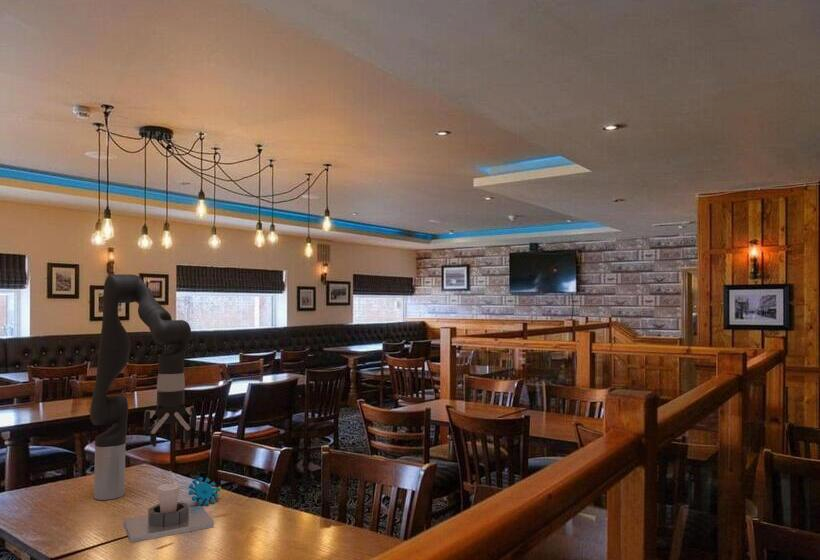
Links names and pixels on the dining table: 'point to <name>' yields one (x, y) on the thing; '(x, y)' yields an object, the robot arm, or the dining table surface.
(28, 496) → the dining table surface
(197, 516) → the hub plate
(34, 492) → the dining table surface
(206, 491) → the gear
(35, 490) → the dining table surface
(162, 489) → the smoothie
